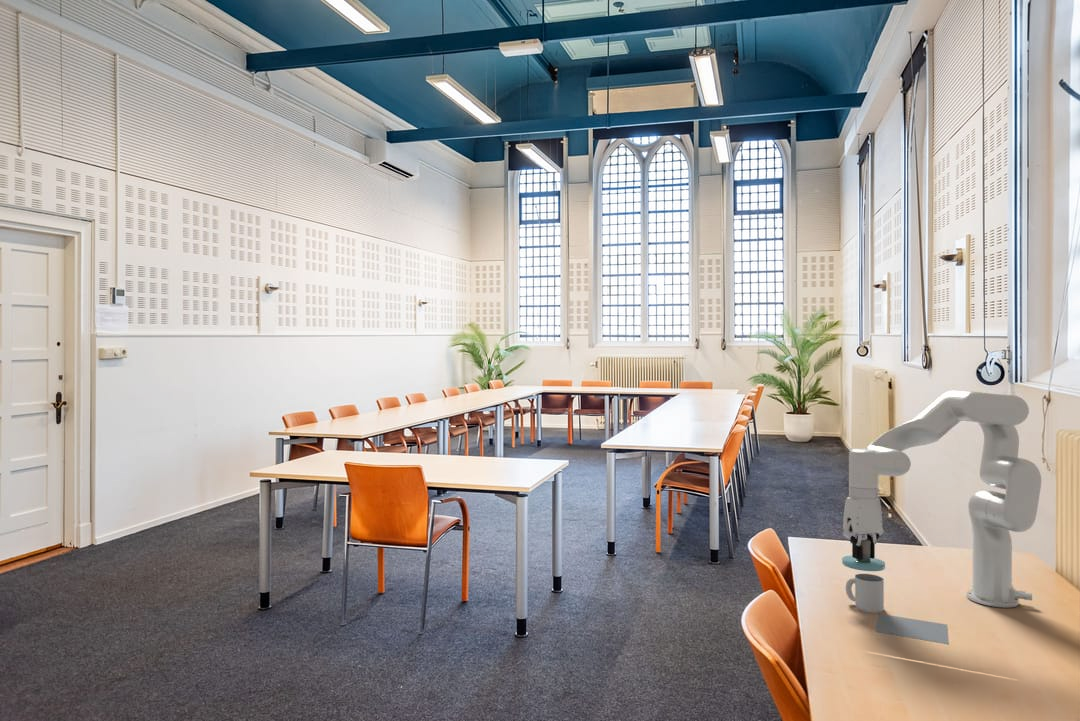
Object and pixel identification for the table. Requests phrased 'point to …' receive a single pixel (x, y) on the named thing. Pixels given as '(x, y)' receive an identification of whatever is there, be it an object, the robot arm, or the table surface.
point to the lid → (864, 559)
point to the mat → (913, 628)
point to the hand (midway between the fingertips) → (863, 557)
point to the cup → (867, 592)
